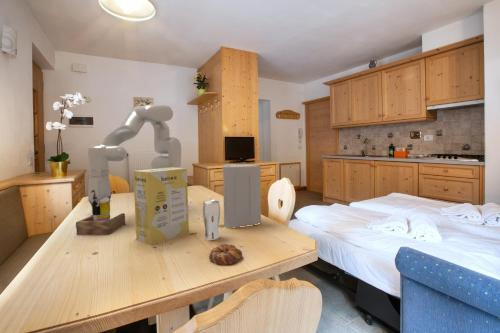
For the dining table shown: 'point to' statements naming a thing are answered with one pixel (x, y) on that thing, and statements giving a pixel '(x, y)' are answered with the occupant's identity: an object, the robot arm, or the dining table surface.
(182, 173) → the pasta box
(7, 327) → the dining table surface
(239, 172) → the paper bag
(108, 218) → the supplement bottle
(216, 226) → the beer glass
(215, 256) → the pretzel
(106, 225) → the dock
